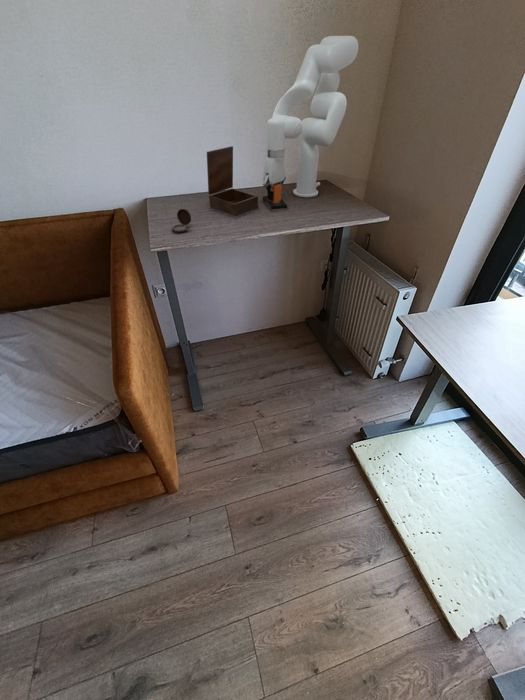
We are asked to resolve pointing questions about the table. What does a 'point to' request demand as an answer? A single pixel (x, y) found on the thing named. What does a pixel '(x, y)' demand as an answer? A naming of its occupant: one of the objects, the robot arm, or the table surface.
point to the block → (276, 193)
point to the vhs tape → (275, 204)
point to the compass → (182, 221)
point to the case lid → (220, 169)
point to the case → (233, 202)
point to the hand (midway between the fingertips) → (274, 197)
